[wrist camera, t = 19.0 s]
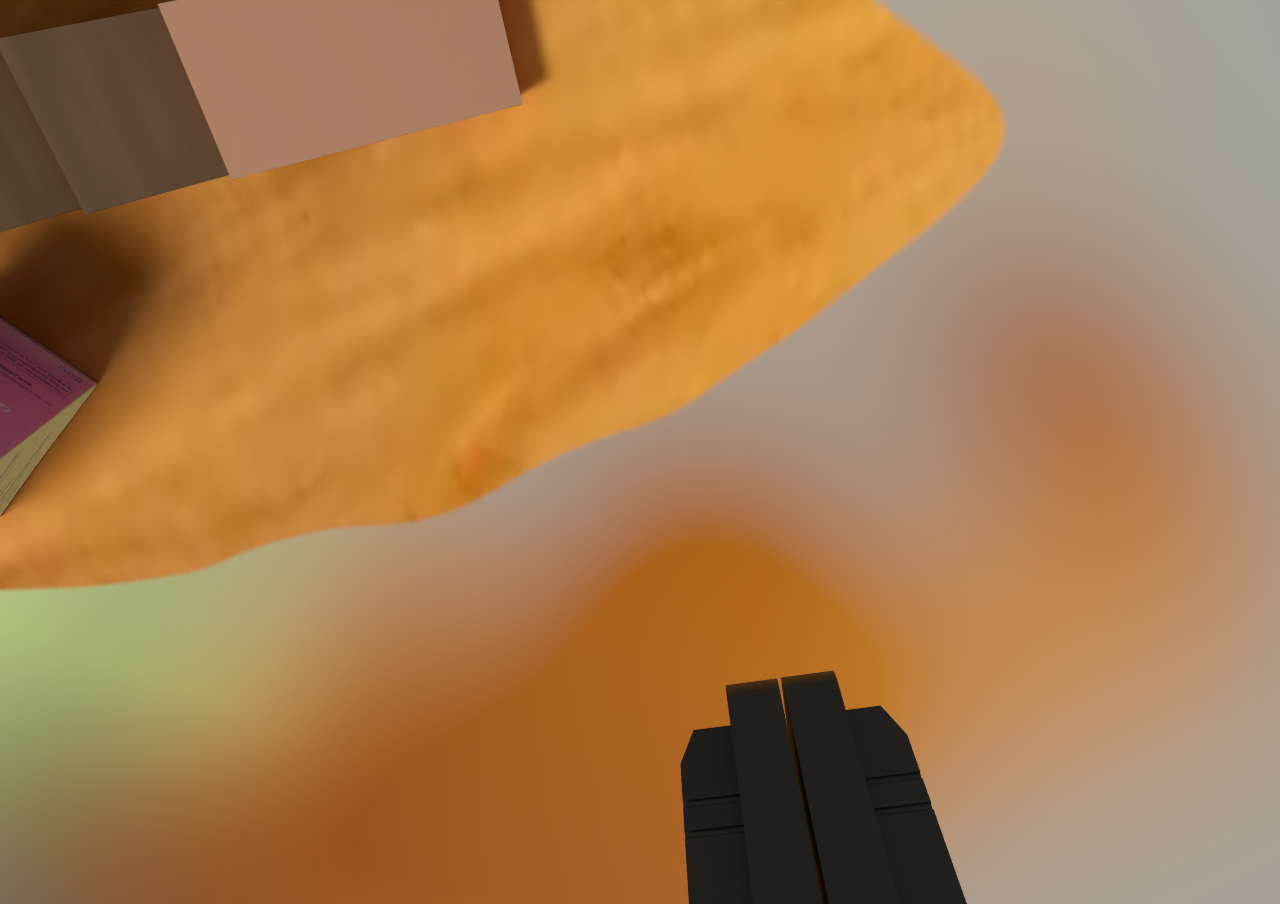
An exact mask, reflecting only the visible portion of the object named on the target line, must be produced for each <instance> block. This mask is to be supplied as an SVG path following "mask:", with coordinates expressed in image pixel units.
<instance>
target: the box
mask: <svg viewBox="0 0 1280 904" xmlns="http://www.w3.org/2000/svg"><path fill="white" fill-rule="evenodd" d="M96 386H97V383H96V382H95V381H94V380H92V379H91V378H89V377H88V376H86V375H85V374H83V373H82V372H80V371H79V370H77V369H76V368H75V367H73V366H72V365H70V364H69V363H67V362H66V361H65V360H63V359H62V358H60V357H59V356H57V355H56V354H54V353H53V352H51V351H50V350H48V349H47V348H45V347H44V346H43V345H41V344H40V343H38V342H37V341H35V340H34V339H32V338H31V337H29V336H28V335H26V334H25V333H23V332H22V331H20V330H19V329H17V328H16V327H14V326H13V325H11V324H10V323H8V322H7V321H5V320H4V319H2V318H1V317H0V516H1V514H2V513H3V512H4V510H5V509H6V507H7V506H8V505H9V503H10V502H11V500H12V499H13V498H14V496H15V495H16V493H17V492H18V490H19V489H20V488H21V486H22V485H23V484H24V482H25V481H26V479H27V478H28V477H29V475H30V474H31V472H32V471H33V470H34V468H35V467H36V466H37V464H38V463H39V462H40V460H41V459H42V457H43V456H44V455H45V453H46V452H47V451H48V449H49V448H50V447H51V445H52V444H53V443H54V441H55V440H56V439H57V437H58V436H59V435H60V433H61V432H62V431H63V429H64V428H65V427H66V425H67V424H68V423H69V421H70V420H71V419H72V418H73V416H74V415H75V414H76V412H77V411H78V410H79V408H80V407H81V406H82V404H83V403H84V402H85V400H86V399H87V398H88V396H89V395H90V394H91V392H92V391H93V390H94V388H95V387H96Z"/></svg>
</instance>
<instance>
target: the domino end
mask: <svg viewBox="0 0 1280 904" xmlns="http://www.w3.org/2000/svg"><path fill="white" fill-rule="evenodd" d="M158 6H159V9H160V11H161V13H162V16H163V18H164V21H165V23H166V25H167V28H168V30H169V32H170V35H171V37H172V40H173V42H174V44H175V47H176V49H177V51H178V54H179V56H180V59H181V61H182V63H183V66H184V68H185V70H186V73H187V75H188V78H189V80H190V82H191V85H192V87H193V89H194V92H195V94H196V97H197V99H198V101H199V104H200V106H201V108H202V111H203V113H204V116H205V118H206V120H207V123H208V125H209V128H210V130H211V132H212V135H213V137H214V139H215V142H216V144H217V147H218V149H219V151H220V154H221V156H222V158H223V161H224V163H225V166H226V168H227V170H228V173H229V175H230V177H231V180H232V179H236V178H240V177H244V176H248V175H251V174H255V173H259V172H263V171H267V170H271V169H275V168H278V167H282V166H286V165H290V164H294V163H298V162H302V161H305V160H309V159H313V158H317V157H321V156H325V155H329V154H332V153H336V152H340V151H344V150H348V149H352V148H356V147H359V146H363V145H367V144H371V143H375V142H379V141H383V140H386V139H390V138H394V137H398V136H402V135H406V134H410V133H413V132H417V131H421V130H425V129H429V128H433V127H437V126H440V125H444V124H448V123H452V122H456V121H460V120H464V119H467V118H471V117H475V116H479V115H483V114H487V113H490V112H494V111H498V110H502V109H506V108H510V107H514V106H517V105H521V104H522V99H521V95H520V91H519V87H518V82H517V78H516V74H515V70H514V65H513V61H512V57H511V52H510V48H509V44H508V40H507V35H506V31H505V27H504V23H503V18H502V14H501V10H500V6H499V1H498V0H176V1H170V2H165V3H160V4H158Z"/></svg>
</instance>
